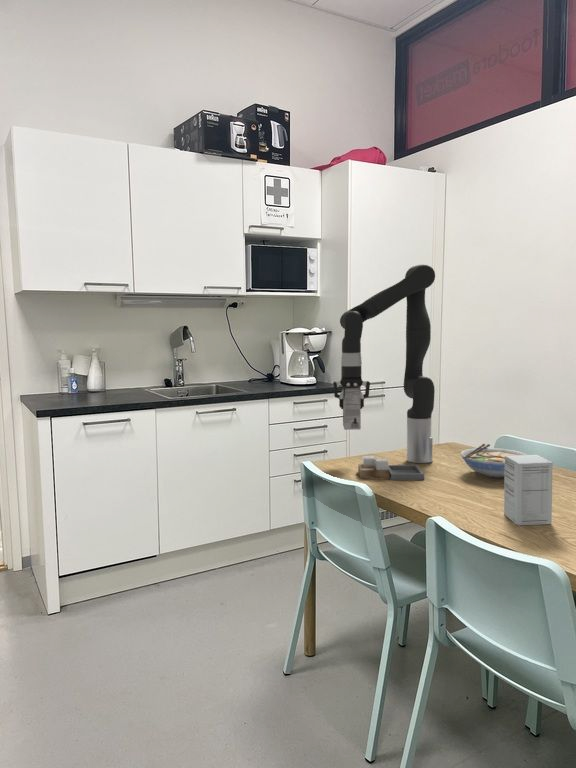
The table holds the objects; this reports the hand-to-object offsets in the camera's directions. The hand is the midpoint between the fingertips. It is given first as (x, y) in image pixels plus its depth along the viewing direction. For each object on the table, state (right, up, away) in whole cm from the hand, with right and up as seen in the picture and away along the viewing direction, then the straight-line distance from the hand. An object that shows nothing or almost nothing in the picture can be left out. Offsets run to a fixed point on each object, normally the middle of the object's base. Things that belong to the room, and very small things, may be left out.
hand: (351, 408), depth 216 cm
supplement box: (+41, -28, -61) cm, 79 cm away
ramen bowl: (+48, -23, -16) cm, 56 cm away
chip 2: (+9, -20, -16) cm, 27 cm away
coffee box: (0, -7, +1) cm, 7 cm away
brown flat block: (+6, -23, -13) cm, 27 cm away
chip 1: (+5, -20, -11) cm, 23 cm away
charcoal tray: (+17, -23, -14) cm, 32 cm away
